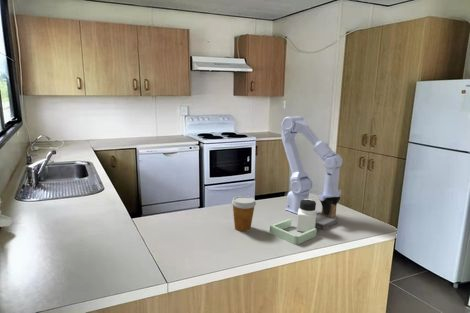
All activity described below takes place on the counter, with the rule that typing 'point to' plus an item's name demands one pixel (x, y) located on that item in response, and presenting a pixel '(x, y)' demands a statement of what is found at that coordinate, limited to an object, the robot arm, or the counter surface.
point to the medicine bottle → (306, 215)
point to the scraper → (326, 218)
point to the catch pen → (278, 231)
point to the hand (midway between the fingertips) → (328, 213)
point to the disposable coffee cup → (243, 212)
